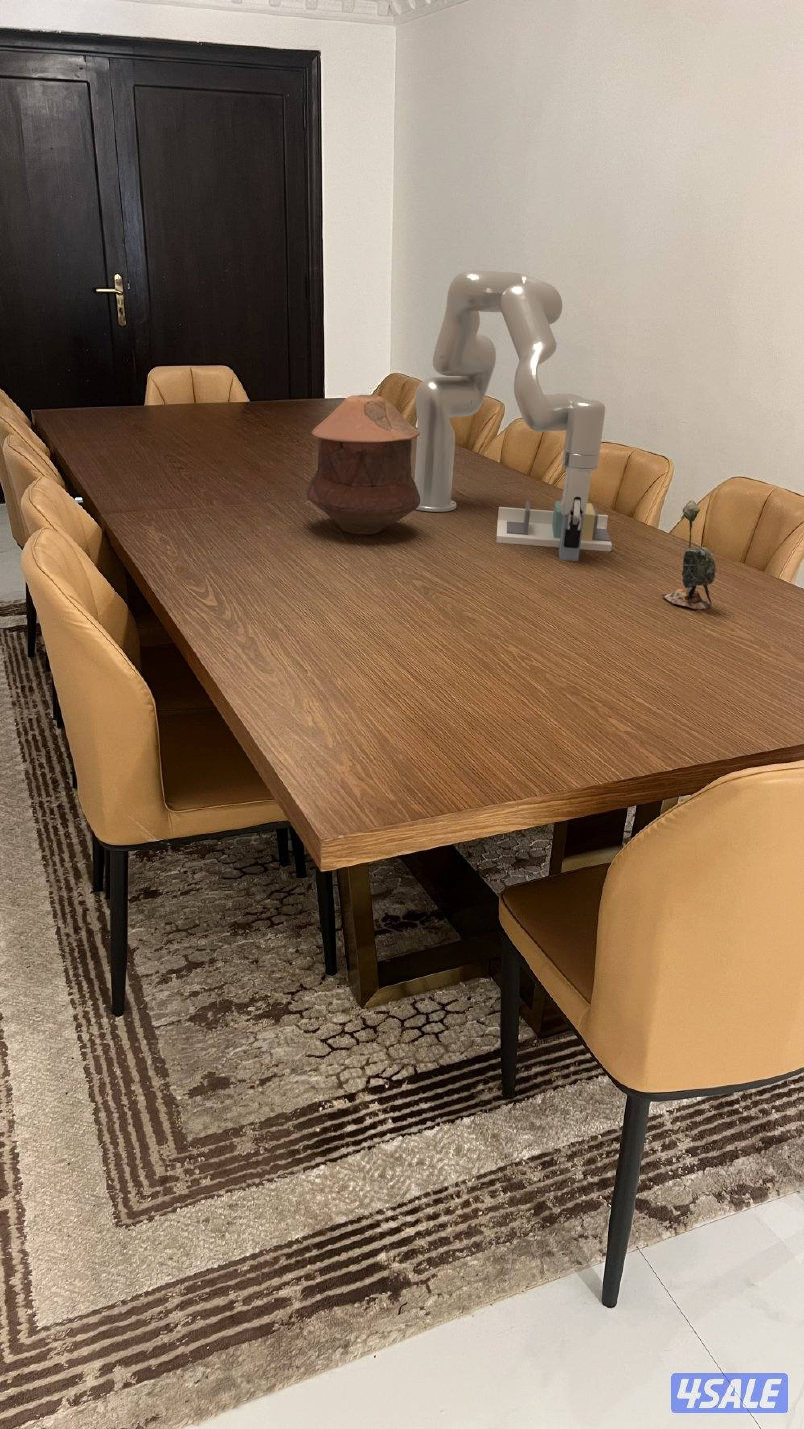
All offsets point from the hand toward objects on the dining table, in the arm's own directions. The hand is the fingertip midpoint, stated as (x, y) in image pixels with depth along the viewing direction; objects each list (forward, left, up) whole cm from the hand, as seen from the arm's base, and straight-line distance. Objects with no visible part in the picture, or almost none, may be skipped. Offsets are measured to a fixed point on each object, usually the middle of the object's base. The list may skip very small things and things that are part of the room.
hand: (570, 542), depth 223 cm
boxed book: (0, 0, -3) cm, 3 cm away
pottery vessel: (-47, +8, -3) cm, 48 cm away
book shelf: (-3, +15, -3) cm, 16 cm away
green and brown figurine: (+22, -28, -3) cm, 36 cm away
